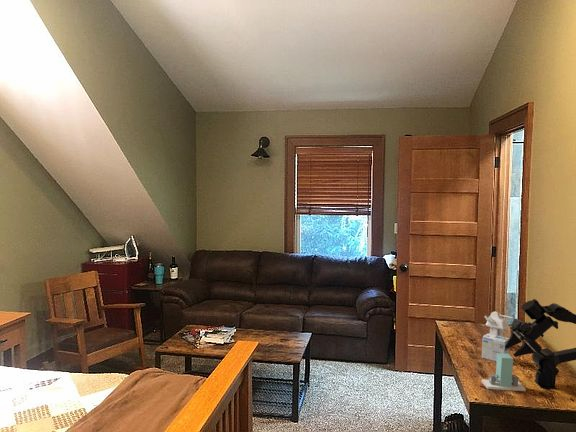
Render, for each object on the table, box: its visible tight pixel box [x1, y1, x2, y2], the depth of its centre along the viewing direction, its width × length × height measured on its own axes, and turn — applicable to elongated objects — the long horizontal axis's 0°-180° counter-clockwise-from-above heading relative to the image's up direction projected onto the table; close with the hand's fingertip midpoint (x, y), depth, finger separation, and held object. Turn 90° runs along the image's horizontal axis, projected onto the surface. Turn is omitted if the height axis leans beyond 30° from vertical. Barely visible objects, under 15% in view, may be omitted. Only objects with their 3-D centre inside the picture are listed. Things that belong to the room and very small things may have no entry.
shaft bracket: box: [481, 373, 527, 392], centre depth 192 cm, size 15×7×4 cm, turn 86°
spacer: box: [495, 353, 514, 387], centre depth 192 cm, size 4×5×12 cm
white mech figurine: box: [483, 311, 514, 337], centre depth 238 cm, size 12×13×18 cm
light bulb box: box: [481, 333, 510, 363], centre depth 222 cm, size 11×7×11 cm, turn 47°
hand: (509, 351), depth 194 cm, fingers open, 9 cm apart
